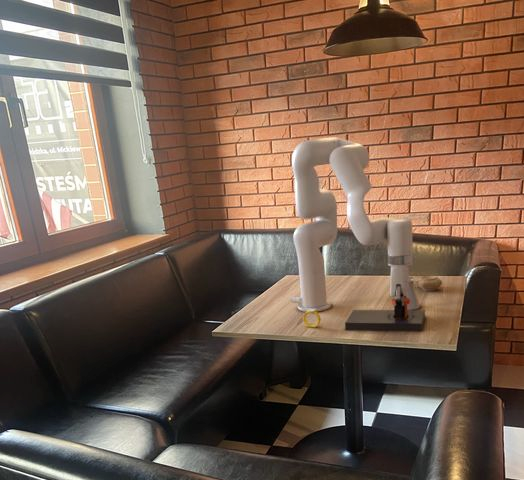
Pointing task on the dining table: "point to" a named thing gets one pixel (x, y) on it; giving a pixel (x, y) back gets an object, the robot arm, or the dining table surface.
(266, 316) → the dining table surface
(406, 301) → the stopper
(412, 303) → the flask
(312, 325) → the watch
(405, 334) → the dining table surface
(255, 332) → the dining table surface
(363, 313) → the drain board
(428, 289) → the oil lamp
